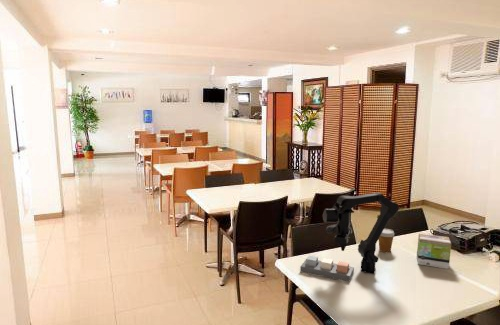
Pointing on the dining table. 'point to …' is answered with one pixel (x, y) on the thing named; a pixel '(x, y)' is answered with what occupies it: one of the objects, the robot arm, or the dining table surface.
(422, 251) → the tea box
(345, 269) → the terracotta key
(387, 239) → the disposable coffee cup
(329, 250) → the dining table surface
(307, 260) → the light grey cube
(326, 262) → the cream key
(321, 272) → the grey slotted tray
